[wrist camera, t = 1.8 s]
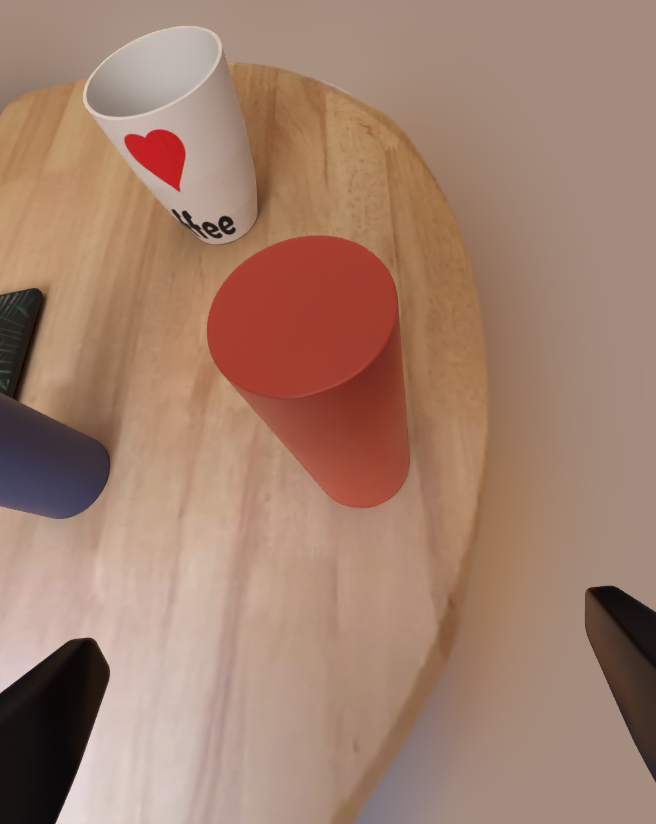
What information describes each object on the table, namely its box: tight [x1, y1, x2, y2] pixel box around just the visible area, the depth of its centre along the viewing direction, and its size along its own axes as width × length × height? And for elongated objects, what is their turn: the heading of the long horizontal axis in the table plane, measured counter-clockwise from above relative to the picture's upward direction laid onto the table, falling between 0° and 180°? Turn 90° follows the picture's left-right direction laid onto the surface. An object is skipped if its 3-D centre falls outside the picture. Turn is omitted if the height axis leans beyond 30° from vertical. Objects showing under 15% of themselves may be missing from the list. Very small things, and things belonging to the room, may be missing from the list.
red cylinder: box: [207, 236, 410, 508], centre depth 17 cm, size 5×5×13 cm
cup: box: [83, 26, 258, 244], centre depth 28 cm, size 8×8×10 cm
